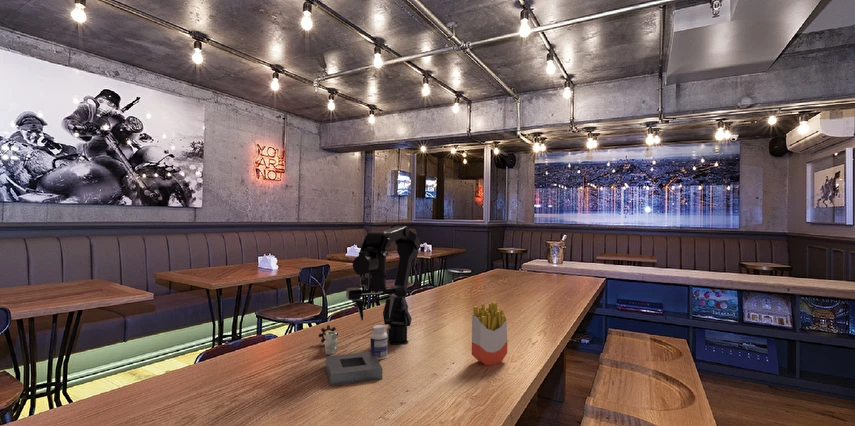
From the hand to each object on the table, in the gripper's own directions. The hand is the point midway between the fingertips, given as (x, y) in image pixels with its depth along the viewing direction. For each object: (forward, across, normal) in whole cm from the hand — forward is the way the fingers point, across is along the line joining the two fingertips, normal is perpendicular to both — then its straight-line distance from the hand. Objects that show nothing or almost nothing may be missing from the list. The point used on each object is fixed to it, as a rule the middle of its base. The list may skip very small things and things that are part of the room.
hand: (376, 319), depth 124 cm
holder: (+12, +9, +11) cm, 18 cm away
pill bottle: (+12, -1, +1) cm, 12 cm away
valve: (+12, +13, -12) cm, 22 cm away
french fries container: (+12, -33, +16) cm, 38 cm away
